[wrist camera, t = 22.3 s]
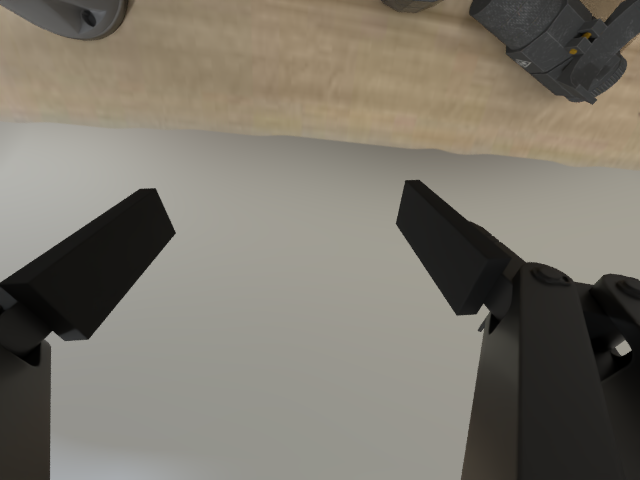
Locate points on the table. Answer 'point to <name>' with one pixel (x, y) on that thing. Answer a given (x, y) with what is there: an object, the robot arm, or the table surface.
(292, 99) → the table surface
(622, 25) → the laser sight
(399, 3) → the bowl
